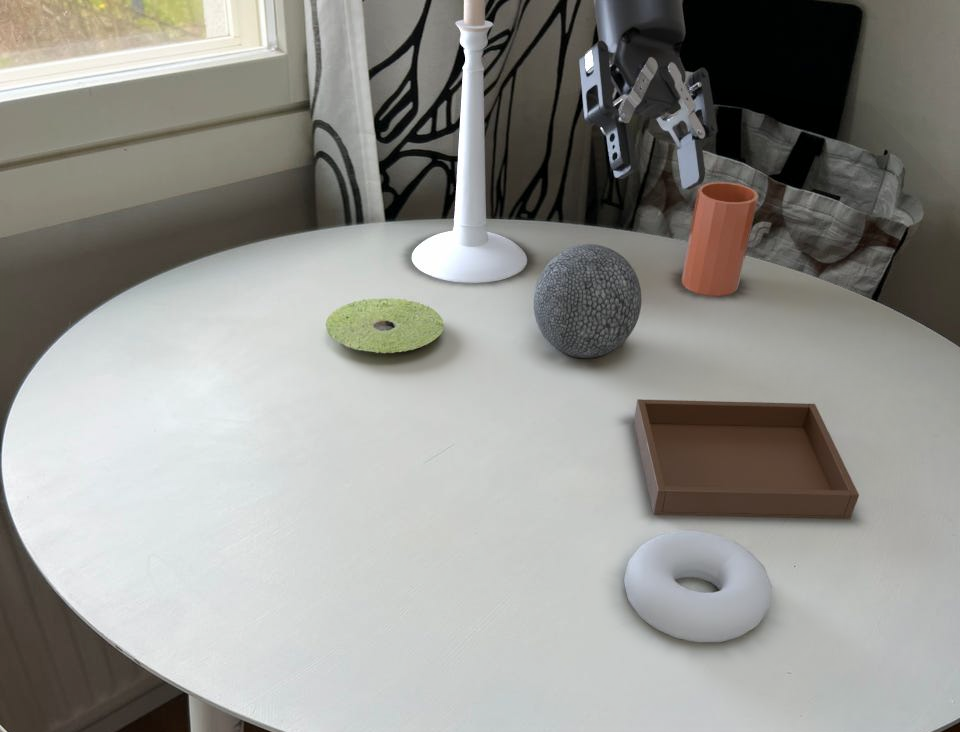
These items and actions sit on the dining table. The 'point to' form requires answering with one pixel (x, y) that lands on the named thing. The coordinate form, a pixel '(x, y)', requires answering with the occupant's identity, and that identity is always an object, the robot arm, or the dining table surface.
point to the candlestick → (471, 182)
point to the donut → (692, 610)
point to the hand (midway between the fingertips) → (660, 180)
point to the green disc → (384, 325)
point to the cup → (719, 238)
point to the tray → (741, 460)
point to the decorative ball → (587, 301)
